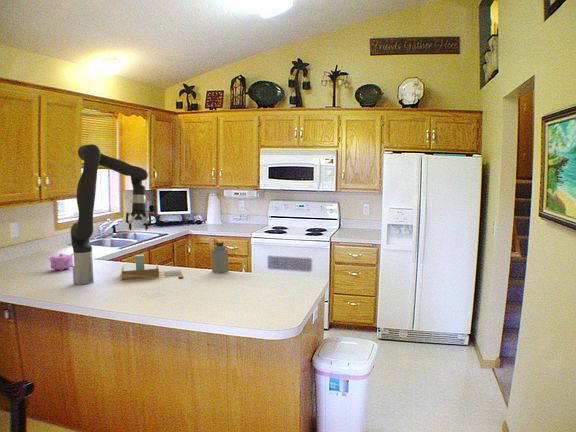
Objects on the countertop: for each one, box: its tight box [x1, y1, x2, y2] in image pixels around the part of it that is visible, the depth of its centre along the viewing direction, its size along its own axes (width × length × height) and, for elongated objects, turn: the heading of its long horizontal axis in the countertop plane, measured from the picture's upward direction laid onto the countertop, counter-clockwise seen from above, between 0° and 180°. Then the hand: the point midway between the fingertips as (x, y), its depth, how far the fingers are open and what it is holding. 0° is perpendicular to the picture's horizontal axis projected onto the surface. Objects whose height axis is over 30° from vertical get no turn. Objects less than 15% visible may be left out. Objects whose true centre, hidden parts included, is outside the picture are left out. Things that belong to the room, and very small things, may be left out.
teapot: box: [47, 252, 74, 272], centre depth 274 cm, size 18×13×10 cm
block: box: [135, 253, 145, 270], centre depth 252 cm, size 4×4×12 cm
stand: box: [119, 263, 184, 282], centre depth 255 cm, size 16×34×6 cm, turn 109°
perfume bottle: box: [211, 241, 229, 274], centre depth 268 cm, size 7×7×18 cm
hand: (138, 230), depth 261 cm, fingers open, 8 cm apart
